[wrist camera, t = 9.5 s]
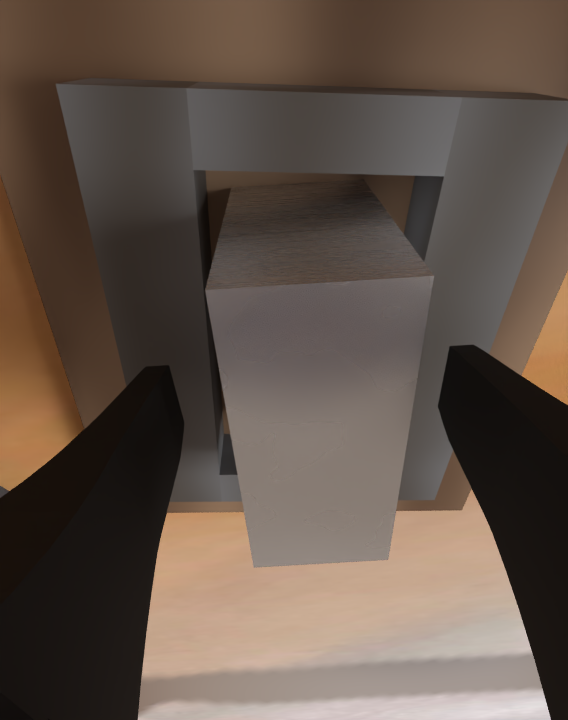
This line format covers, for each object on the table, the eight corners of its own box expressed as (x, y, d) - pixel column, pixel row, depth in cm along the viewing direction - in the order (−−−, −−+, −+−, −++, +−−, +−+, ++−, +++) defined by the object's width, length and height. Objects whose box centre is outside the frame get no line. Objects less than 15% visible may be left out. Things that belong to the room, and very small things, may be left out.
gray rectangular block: (363, 178, 11) (434, 276, 7) (351, 405, 16) (388, 559, 11) (231, 187, 12) (204, 290, 7) (257, 411, 16) (254, 567, 11)
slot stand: (677, -92, 10) (845, -149, 7) (450, 483, 21) (478, 550, 19) (-59, -130, 9) (-209, -212, 6) (121, 485, 21) (98, 555, 18)
